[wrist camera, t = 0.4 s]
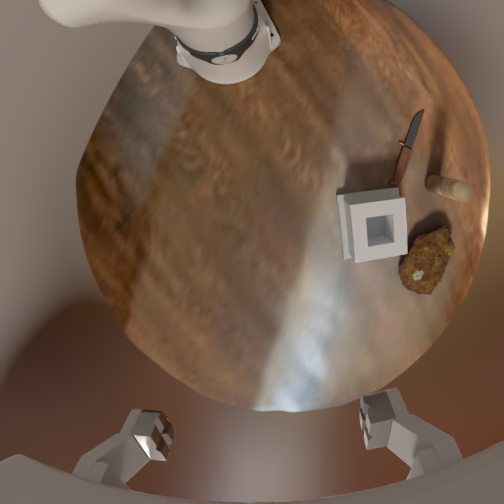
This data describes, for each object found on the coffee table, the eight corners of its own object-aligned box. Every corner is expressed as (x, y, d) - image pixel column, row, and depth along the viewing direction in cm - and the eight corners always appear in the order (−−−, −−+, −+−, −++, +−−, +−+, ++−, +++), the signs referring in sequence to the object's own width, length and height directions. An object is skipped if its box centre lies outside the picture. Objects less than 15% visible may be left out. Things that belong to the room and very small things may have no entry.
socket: (336, 194, 53) (343, 199, 47) (396, 187, 52) (409, 191, 46) (343, 257, 57) (350, 269, 51) (400, 248, 55) (412, 258, 49)
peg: (424, 175, 50) (456, 182, 39) (438, 173, 50) (471, 181, 38) (425, 192, 51) (457, 203, 40) (439, 191, 51) (472, 201, 40)
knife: (412, 102, 45) (425, 109, 46) (410, 102, 46) (423, 110, 47) (386, 182, 51) (400, 188, 51) (384, 181, 52) (398, 187, 52)
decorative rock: (417, 211, 53) (387, 278, 58) (425, 216, 49) (392, 286, 55) (458, 232, 53) (428, 294, 58) (468, 238, 49) (435, 302, 54)
